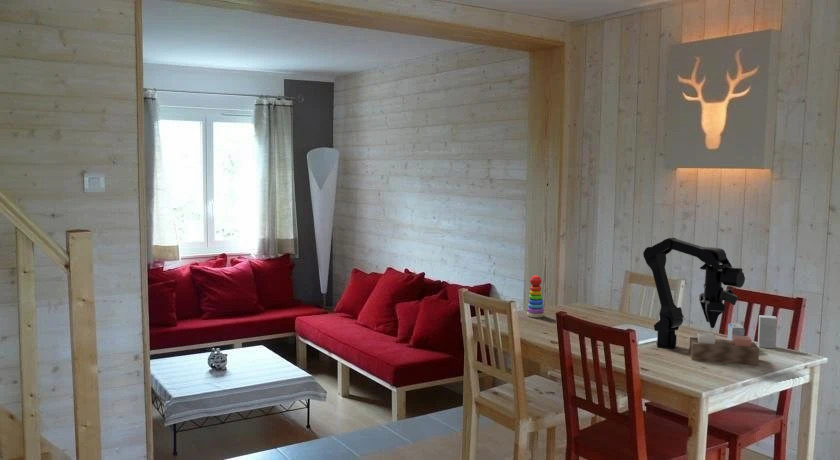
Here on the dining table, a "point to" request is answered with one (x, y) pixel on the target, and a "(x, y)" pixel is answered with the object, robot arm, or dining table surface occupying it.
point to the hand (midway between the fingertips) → (710, 324)
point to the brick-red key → (741, 341)
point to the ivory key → (706, 338)
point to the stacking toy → (535, 298)
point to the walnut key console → (724, 352)
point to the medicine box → (734, 330)
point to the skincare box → (767, 331)
